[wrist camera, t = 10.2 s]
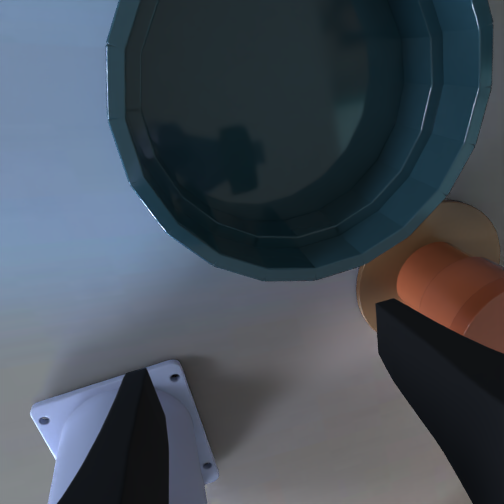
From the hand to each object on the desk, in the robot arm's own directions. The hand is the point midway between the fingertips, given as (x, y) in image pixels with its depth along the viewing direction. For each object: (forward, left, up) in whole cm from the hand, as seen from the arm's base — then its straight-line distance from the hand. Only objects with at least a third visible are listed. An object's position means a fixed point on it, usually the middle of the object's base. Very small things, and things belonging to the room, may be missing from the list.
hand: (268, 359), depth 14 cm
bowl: (+6, -4, -10) cm, 13 cm away
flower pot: (-6, -11, -10) cm, 16 cm away
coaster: (-6, -11, -10) cm, 16 cm away
